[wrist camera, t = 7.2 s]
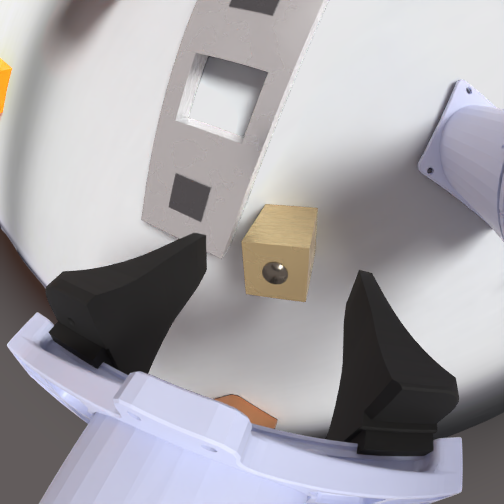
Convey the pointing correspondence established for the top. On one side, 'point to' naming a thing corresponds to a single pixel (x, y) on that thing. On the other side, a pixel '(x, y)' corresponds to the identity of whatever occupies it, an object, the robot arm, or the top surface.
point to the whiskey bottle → (249, 411)
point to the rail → (216, 139)
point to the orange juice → (3, 81)
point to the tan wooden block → (280, 252)
